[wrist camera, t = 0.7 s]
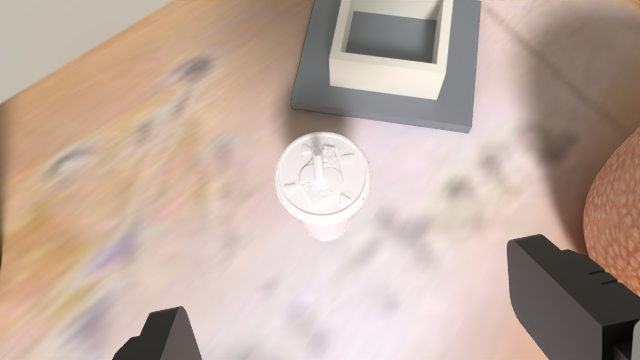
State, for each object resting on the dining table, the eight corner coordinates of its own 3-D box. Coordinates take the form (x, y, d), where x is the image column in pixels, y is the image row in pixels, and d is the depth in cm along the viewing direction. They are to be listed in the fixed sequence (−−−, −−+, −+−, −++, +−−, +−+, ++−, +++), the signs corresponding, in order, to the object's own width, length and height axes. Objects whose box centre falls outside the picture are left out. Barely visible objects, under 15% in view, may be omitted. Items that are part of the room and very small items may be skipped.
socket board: (291, 108, 45) (286, 75, 40) (319, -9, 50) (317, -50, 45) (468, 133, 43) (484, 101, 38) (477, 9, 48) (493, -32, 44)
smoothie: (279, 247, 40) (249, 182, 27) (298, 177, 42) (280, 86, 29) (355, 265, 39) (363, 206, 26) (371, 192, 41) (385, 105, 29)
